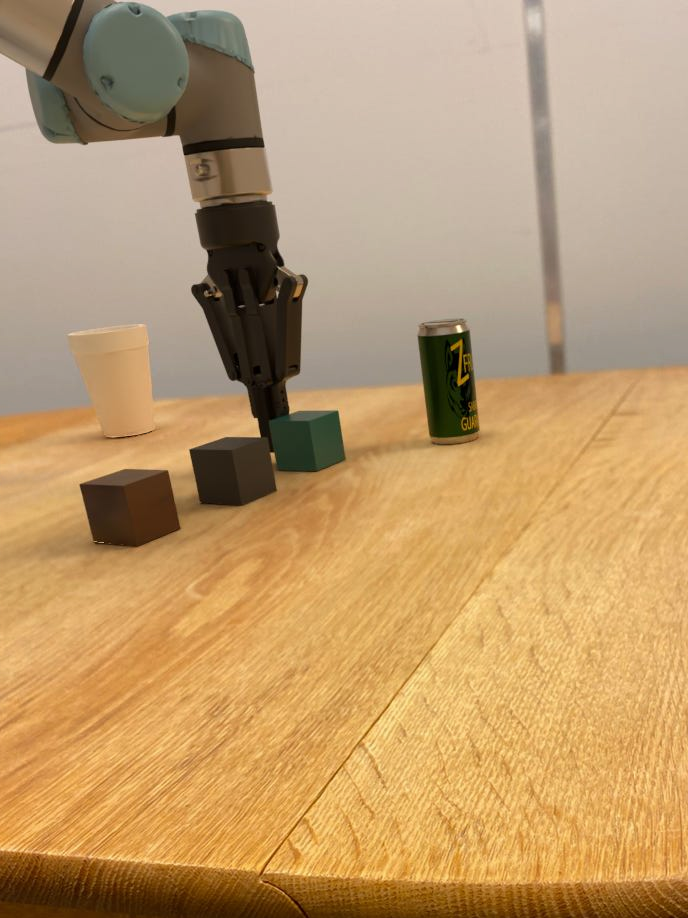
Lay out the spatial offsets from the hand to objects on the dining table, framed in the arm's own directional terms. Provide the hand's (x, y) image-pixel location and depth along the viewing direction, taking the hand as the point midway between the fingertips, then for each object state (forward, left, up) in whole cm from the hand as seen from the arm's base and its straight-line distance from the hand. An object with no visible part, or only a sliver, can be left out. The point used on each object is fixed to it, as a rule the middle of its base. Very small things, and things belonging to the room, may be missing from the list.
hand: (277, 449), depth 109 cm
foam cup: (-36, +14, -2) cm, 38 cm away
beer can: (+14, +12, -2) cm, 19 cm away
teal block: (+4, 0, -2) cm, 4 cm away
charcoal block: (+5, -12, -2) cm, 13 cm away
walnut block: (+4, -24, -2) cm, 25 cm away
